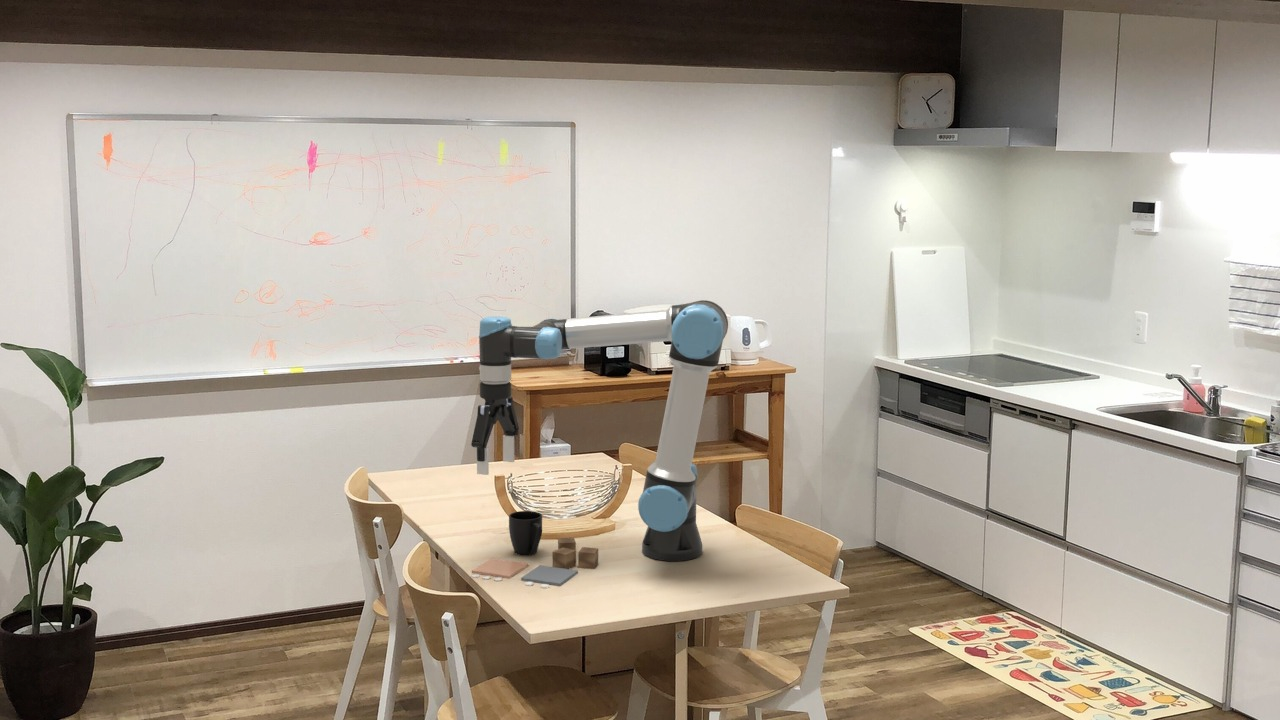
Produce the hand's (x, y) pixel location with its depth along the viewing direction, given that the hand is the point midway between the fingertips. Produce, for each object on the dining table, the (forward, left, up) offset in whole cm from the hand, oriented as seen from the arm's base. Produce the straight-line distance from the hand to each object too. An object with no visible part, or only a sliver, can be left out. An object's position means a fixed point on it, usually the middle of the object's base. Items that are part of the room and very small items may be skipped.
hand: (496, 467), depth 298 cm
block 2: (-18, -1, -23) cm, 29 cm away
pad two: (-18, +8, -23) cm, 30 cm away
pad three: (-5, +8, -23) cm, 25 cm away
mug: (-6, -6, -23) cm, 24 cm away
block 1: (-15, -9, -23) cm, 29 cm away
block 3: (-23, -4, -23) cm, 33 cm away
